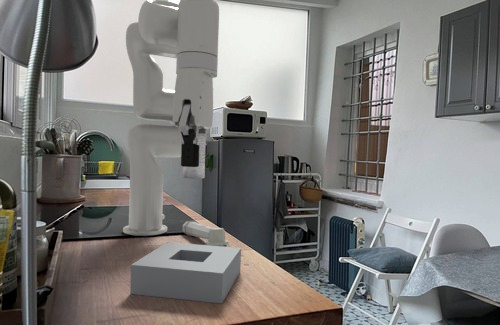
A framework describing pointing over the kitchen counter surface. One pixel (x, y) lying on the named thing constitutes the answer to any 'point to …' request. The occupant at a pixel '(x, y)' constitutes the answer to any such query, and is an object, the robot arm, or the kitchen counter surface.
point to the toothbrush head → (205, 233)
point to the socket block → (187, 272)
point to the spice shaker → (200, 170)
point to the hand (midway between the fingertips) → (194, 165)
